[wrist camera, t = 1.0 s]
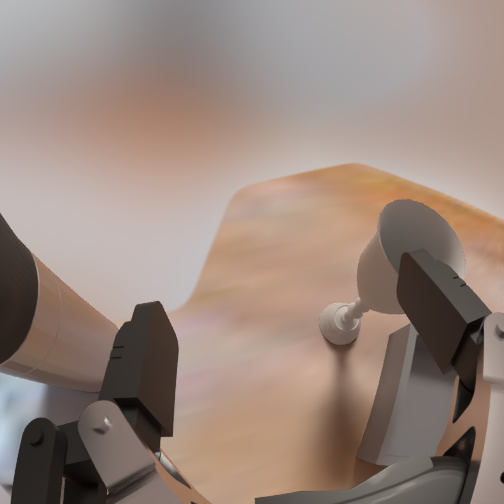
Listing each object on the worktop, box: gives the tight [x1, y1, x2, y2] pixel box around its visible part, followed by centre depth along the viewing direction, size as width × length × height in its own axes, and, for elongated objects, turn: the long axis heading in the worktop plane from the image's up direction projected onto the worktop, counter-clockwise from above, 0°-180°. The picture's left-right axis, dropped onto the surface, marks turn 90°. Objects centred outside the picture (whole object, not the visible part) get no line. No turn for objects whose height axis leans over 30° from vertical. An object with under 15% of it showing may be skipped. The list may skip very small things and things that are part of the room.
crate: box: [356, 323, 458, 466], centre depth 26 cm, size 15×15×5 cm
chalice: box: [319, 200, 466, 345], centre depth 25 cm, size 7×7×18 cm
